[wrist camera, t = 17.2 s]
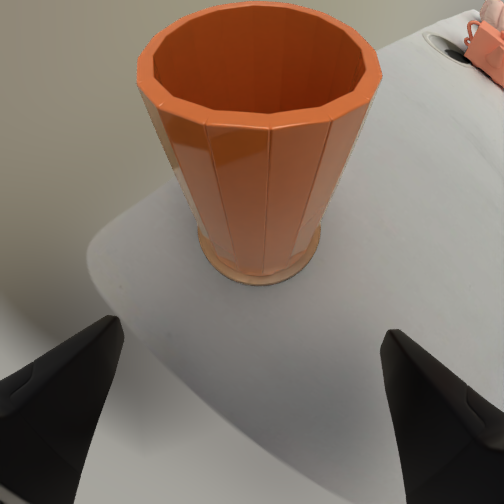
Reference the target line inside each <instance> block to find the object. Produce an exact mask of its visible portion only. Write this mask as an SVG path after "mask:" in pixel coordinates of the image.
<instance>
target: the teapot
mask: <svg viewBox="0 0 504 504" xmlns="http://www.w3.org/2000/svg"><path fill="white" fill-rule="evenodd" d="M472 24H477V25H479V27H478V29H477V31H476V33H475V35H474V37H473V36H472V32H471V25H472ZM467 30H468V34H469V38H468V37H466V38H465V39H464V43H465V45H466V46H468V48H467V50H466V52H465V54H464V56H465V57H467V58H468V59H469V60H471V62H472V64H473V65H474V66H476V67H477V68H481V69H482V70H483V71H485V72H486V73H487V74H488V75H489V76H491V78H492V80H493V81H494V82H495V83H497V84H500V85H501V86H502V87H503V88H504V30H503V31H502V30H501V33H500V32H499V31H498V30H497V29H495V28H494V27H493V26H491V25H490V24H489V23H487V22H486V21H484V20H483V21H482V22H481V23H480V22H478V21H470V22H468V24H467ZM467 40H469V41H470V44H469V43H468V42H467Z"/></svg>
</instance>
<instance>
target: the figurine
mask: <svg viewBox="0 0 504 504" xmlns="http://www.w3.org/2000/svg"><path fill="white" fill-rule="evenodd" d="M480 17H481V21H483V20H484V21H486V22H487V23H489V24H490V25H491V26H493V27H494V28H495V29H497V30H498V31H499V32H500V33H501V30H502V31H503V30H504V3H503V2H502V1H500V0H487V1H485V2H484V4H483V6H482V8H481V10H480Z"/></svg>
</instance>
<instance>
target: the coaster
mask: <svg viewBox="0 0 504 504" xmlns="http://www.w3.org/2000/svg"><path fill="white" fill-rule="evenodd" d="M320 231H321V226H320V225H319V227H318V229H317V231H316V233H315V235H314V237H313V239H312V241H311V243H310V244H309V247H308V249H307V250H306V252H305V253H304V255H303V256H302V257H301V258H300V259H299V260H298V261H297V262H296V263H295V264H294V265H292V266H291V267H289V268H288V269H286V270H284V271H282V272H279V273H276V274H272V275H267V276H251V275H246V274H242V273H239V272H236V271H234V270H232V269H230V268H229V267H227V266H226V265H224V264H223V263H222V262H221V261H220V260H218V258H217V257H216V256H215V255H214V254H213V252H212V250H211V249H210V247H209V245H208V244H207V243H206V241H205V239H204V237H203V234H202V232H201V230H200V228H199V226H198V237H199V242H200V245H201V248H202V250H203V252H204V254H205V256H206V258H207V259H208V260H209V262H210V263H211V264H212V266H213V267H214V268H215V269H216V270H217V271H219V272H220V273H221V274H222V275H224V276H226V277H227V278H229V279H231V280H233V281H235V282H238V283H242V284H245V285H251V286H267V285H273V284H277V283H280V282H283V281H285V280H288V279H289V278H291V277H293V276H295V275H296V274H297V273H299V272H300V271H301V270H302V269H303V268H304V267H305V266H306V265H307V264H308V262H309V261H310V260H311V258H312V256H313V255H314V253H315V251H316V249H317V246H318V243H319V239H320Z"/></svg>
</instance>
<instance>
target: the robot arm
mask: <svg viewBox="0 0 504 504" xmlns="http://www.w3.org/2000/svg"><path fill="white" fill-rule="evenodd" d="M123 342H124V332H123V329H122V326H121V322H120V319H119V318H118V317H117V316H112V315H107V316H105V317H103V318H102V319H100V320H98V321H97V322H95V323H94V324H92V325H90V326H89V327H87V328H85V329H84V330H82V331H80V332H79V333H78V334H76V335H74V336H72V337H71V338H69V339H68V340H66V341H64V342H63V343H61V344H60V345H58V346H56V347H55V348H53V349H52V350H50V351H48V352H47V353H46V354H44V355H42V356H41V357H39V358H37V359H36V360H34V362H32V363H30V364H28V365H26V366H25V367H23V368H22V369H20V370H19V371H17V372H15V373H13V374H11V375H10V376H8V377H6V378H4V379H2V380H0V504H74V500H75V496H76V492H77V488H78V485H79V480H80V477H81V473H82V470H83V466H84V463H85V460H86V457H87V453H88V450H89V447H90V444H91V441H92V437H93V435H94V431H95V429H96V425H97V423H98V420H99V417H100V414H101V411H102V408H103V405H104V403H105V400H106V397H107V395H108V392H109V389H110V386H111V384H112V381H113V378H114V375H115V371H116V368H117V364H118V361H119V357H120V353H121V350H122V346H123ZM380 356H381V363H382V369H383V377H384V384H385V391H386V396H387V400H388V404H389V408H390V413H391V417H392V422H393V426H394V431H395V436H396V441H397V446H398V451H399V456H400V462H401V468H402V474H403V480H404V487H405V493H406V495H407V496H406V502H407V504H504V412H502V411H501V410H499V409H498V408H496V407H495V406H494V405H492V404H491V403H490V402H488V401H487V400H486V399H484V398H483V397H482V396H481V395H479V394H478V393H477V392H476V391H474V390H473V389H472V388H471V387H470V386H467V384H466V383H465V382H464V381H462V380H461V379H460V378H459V377H458V376H456V375H455V374H454V373H453V372H452V371H450V370H449V369H448V368H447V367H445V366H444V365H443V364H442V363H441V362H439V361H438V360H437V359H436V358H434V357H433V356H432V355H431V354H430V353H428V352H427V351H426V350H425V349H423V348H422V347H421V346H420V345H418V344H417V343H416V342H415V341H413V340H412V339H411V338H410V337H408V336H407V335H406V334H405V333H403V332H402V331H401V330H399V329H390V330H388V331H387V332H386V335H385V337H384V340H383V343H382V345H381V348H380Z"/></svg>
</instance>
